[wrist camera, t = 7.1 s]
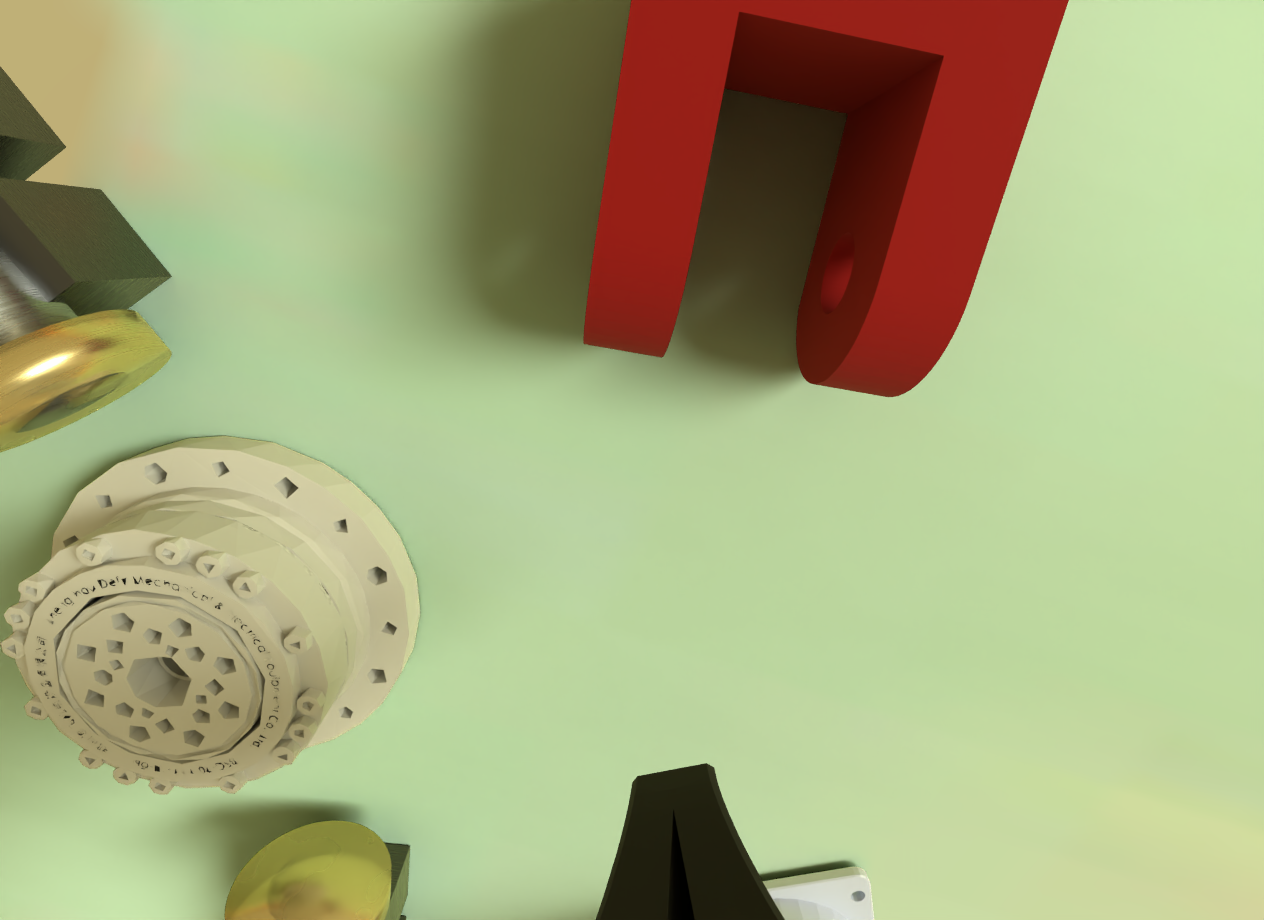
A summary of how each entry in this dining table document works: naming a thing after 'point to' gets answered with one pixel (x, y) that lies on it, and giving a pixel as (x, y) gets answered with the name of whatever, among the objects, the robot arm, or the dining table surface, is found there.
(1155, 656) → the dining table surface
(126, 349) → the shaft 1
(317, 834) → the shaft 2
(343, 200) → the dining table surface
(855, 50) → the mechanical linkage
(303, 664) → the mechanical component
